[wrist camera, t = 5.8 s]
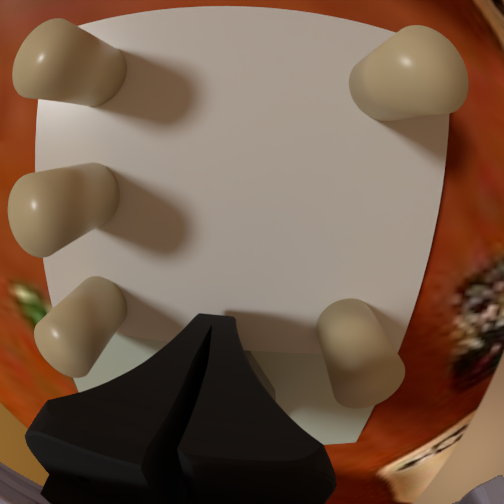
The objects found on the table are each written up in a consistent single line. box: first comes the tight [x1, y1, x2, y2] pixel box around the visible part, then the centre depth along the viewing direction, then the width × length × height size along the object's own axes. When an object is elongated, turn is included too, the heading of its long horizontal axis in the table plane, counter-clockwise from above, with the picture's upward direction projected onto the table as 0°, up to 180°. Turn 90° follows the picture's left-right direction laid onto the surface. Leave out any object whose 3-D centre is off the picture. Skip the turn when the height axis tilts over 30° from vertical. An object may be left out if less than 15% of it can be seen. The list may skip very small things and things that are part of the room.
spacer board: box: [8, 6, 469, 445], centre depth 10 cm, size 20×16×4 cm
